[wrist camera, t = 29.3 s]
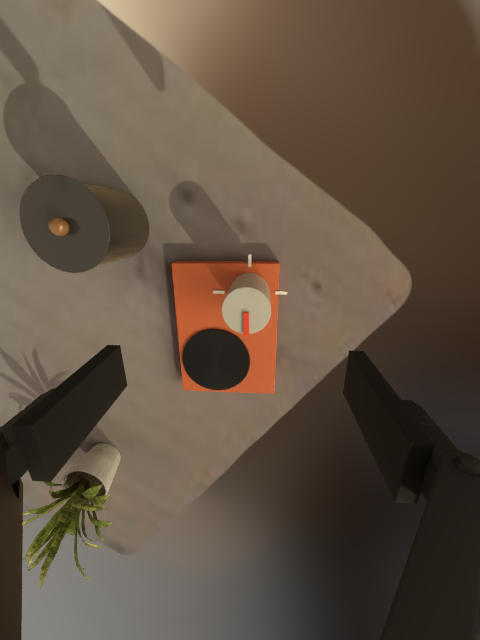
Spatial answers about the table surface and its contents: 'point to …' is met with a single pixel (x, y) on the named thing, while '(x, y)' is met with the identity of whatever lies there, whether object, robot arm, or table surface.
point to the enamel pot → (81, 223)
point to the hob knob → (247, 304)
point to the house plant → (76, 503)
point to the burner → (216, 359)
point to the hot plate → (206, 313)
